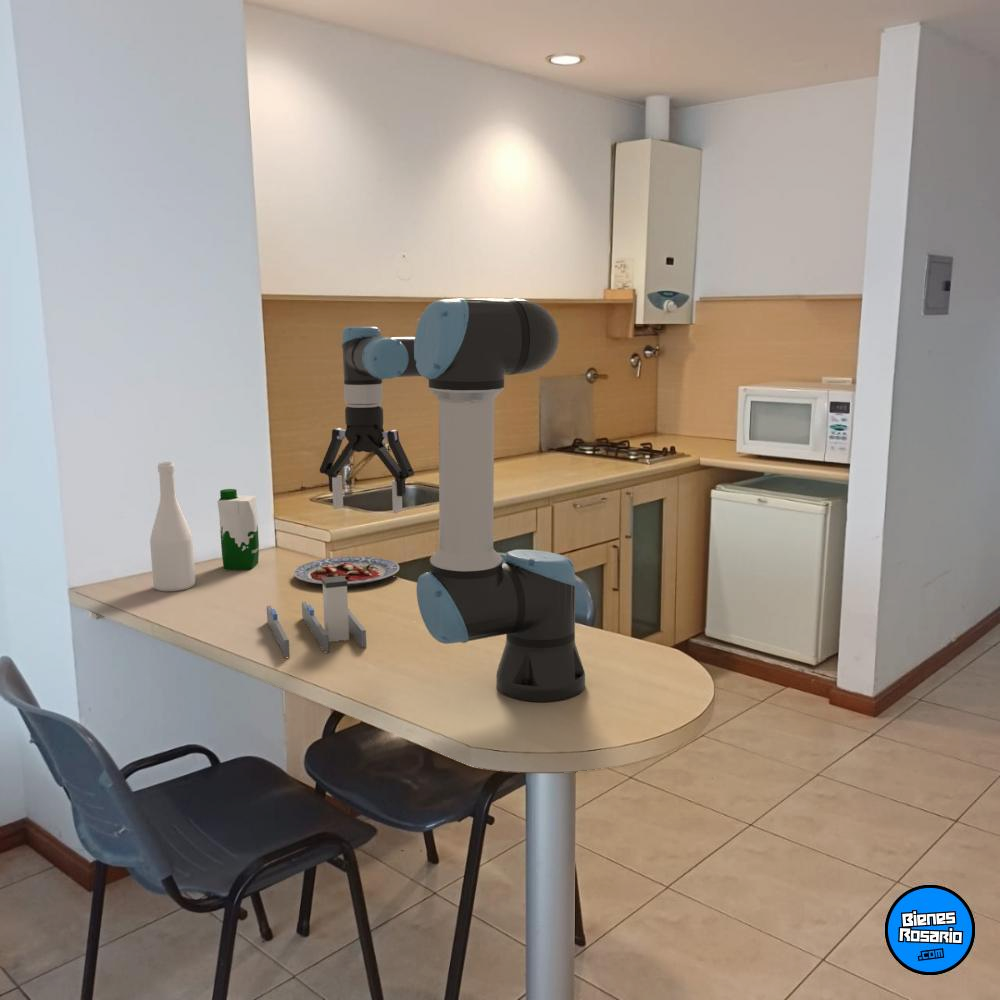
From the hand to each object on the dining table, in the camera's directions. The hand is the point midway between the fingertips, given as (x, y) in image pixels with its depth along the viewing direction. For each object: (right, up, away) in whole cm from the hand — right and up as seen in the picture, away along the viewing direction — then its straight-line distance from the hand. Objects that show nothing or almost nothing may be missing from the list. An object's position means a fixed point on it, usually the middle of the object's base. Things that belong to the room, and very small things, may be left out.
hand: (367, 510), depth 196 cm
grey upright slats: (-10, -25, -2) cm, 27 cm away
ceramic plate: (-11, -17, +42) cm, 47 cm away
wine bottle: (-51, -19, +34) cm, 64 cm away
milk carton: (-40, -15, +53) cm, 68 cm away
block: (-5, -25, -5) cm, 26 cm away
